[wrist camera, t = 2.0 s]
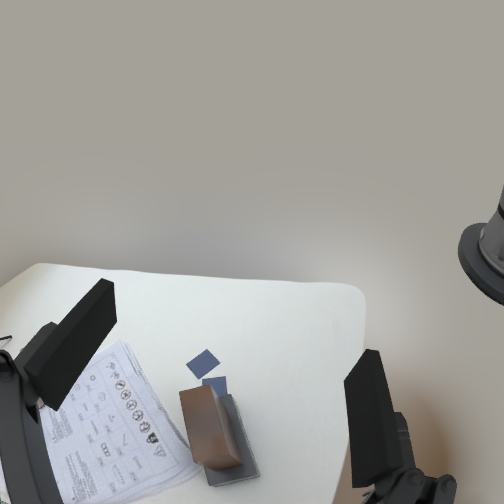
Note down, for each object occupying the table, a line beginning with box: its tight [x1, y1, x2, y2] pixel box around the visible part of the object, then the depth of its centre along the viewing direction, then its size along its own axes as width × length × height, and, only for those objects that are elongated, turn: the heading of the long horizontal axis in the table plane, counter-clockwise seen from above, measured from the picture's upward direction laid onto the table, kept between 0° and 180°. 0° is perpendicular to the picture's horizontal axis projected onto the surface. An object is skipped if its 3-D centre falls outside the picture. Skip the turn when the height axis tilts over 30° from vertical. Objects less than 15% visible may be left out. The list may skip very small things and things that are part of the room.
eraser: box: [179, 384, 260, 487], centre depth 23 cm, size 10×5×9 cm, turn 17°
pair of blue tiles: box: [186, 349, 227, 397], centre depth 31 cm, size 13×5×1 cm, turn 17°
